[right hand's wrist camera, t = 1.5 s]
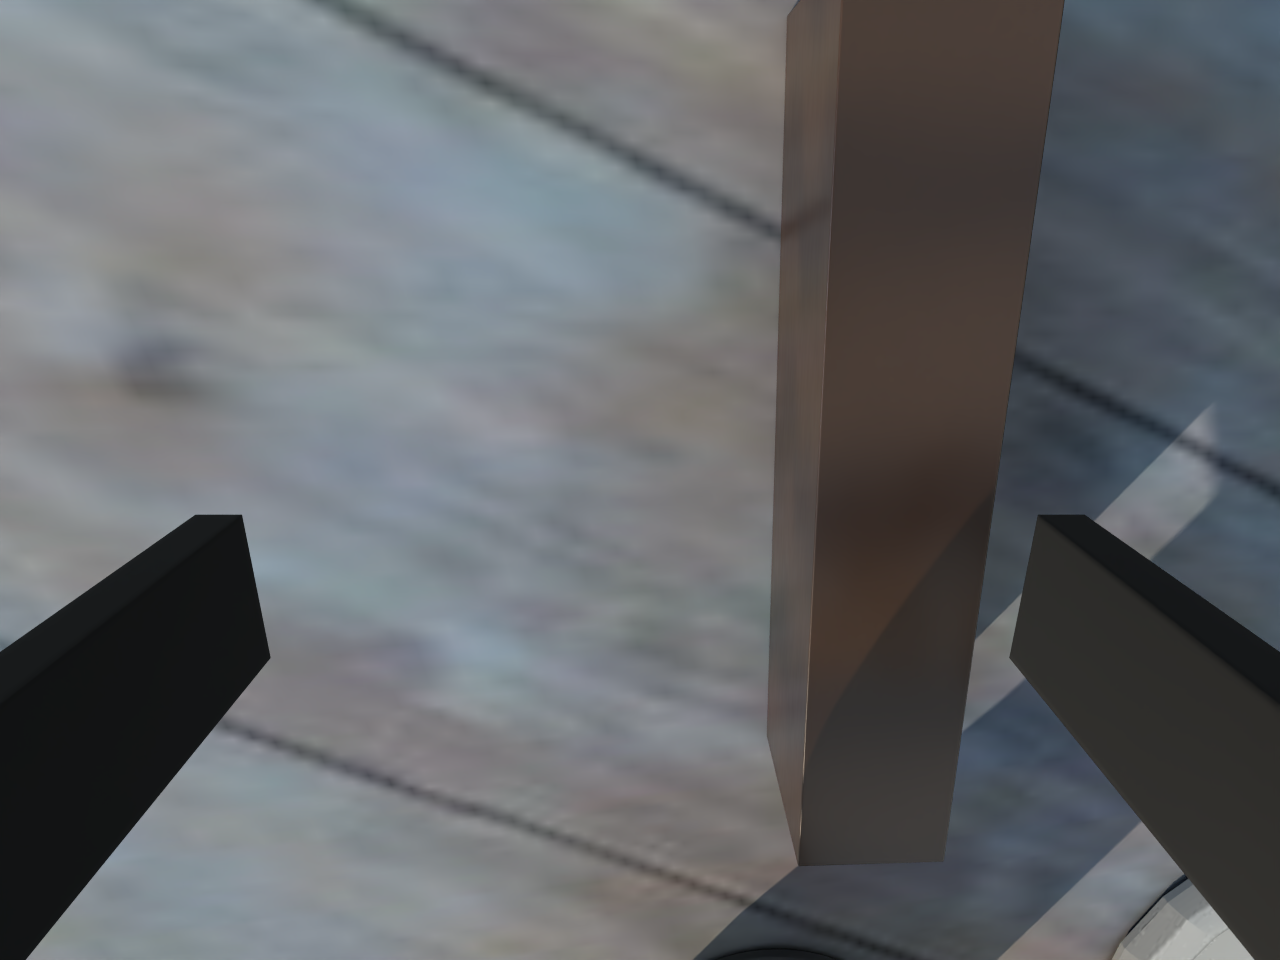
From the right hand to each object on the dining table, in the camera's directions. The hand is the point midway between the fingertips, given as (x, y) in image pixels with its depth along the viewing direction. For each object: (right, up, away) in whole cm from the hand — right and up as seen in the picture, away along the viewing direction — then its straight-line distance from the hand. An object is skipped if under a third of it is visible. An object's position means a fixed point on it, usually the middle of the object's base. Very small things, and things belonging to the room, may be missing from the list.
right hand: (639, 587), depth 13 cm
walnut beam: (+9, +4, +20) cm, 22 cm away
